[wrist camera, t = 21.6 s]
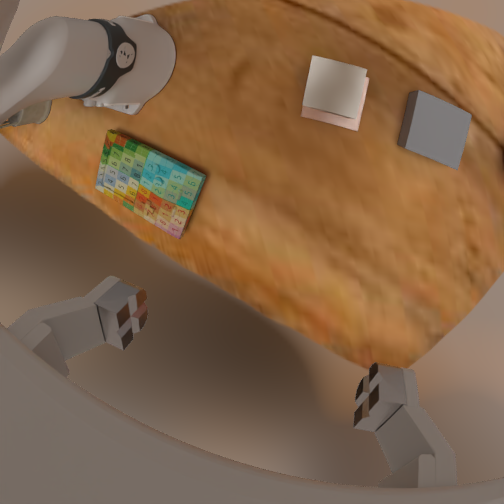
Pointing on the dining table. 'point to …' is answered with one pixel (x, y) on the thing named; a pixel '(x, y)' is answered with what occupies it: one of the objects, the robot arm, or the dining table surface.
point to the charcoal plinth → (434, 128)
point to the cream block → (334, 87)
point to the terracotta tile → (337, 119)
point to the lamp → (30, 114)
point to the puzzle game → (149, 182)
